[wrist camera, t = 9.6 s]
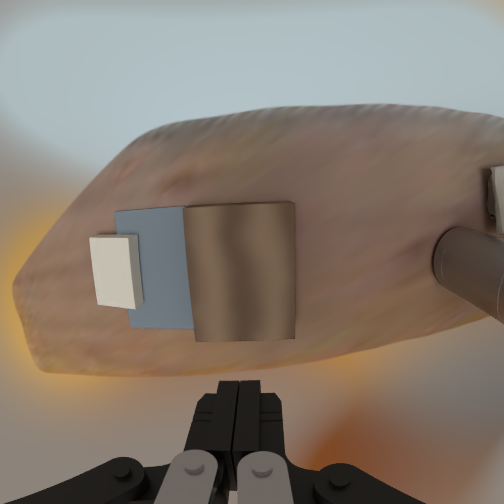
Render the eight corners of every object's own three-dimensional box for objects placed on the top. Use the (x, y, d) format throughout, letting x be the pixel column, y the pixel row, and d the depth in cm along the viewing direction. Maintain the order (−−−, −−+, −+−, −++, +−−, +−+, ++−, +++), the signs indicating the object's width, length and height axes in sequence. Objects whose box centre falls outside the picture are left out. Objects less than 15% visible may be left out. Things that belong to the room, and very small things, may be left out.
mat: (185, 206, 36) (184, 206, 36) (197, 327, 39) (196, 328, 39) (115, 211, 36) (114, 212, 36) (132, 326, 39) (131, 327, 39)
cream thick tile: (89, 237, 34) (99, 234, 37) (98, 304, 36) (107, 298, 39) (128, 237, 34) (137, 234, 36) (135, 309, 36) (143, 302, 38)
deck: (289, 201, 36) (294, 203, 32) (290, 324, 39) (294, 338, 35) (189, 205, 36) (182, 208, 32) (200, 327, 39) (195, 341, 35)
